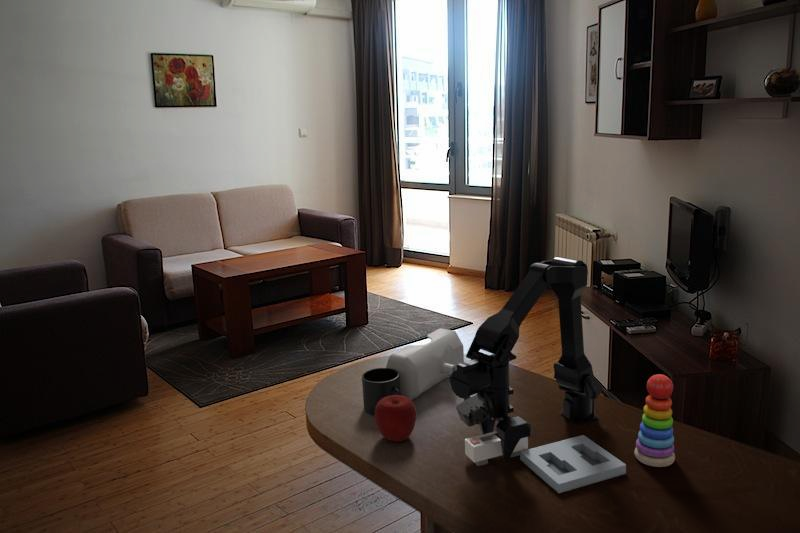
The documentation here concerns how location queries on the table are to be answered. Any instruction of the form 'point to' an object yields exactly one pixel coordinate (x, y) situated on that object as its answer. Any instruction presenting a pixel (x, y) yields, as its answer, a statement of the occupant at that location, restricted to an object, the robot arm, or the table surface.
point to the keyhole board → (572, 463)
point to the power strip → (489, 447)
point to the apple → (395, 417)
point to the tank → (427, 362)
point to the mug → (379, 386)
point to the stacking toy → (656, 425)
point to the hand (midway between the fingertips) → (496, 451)
